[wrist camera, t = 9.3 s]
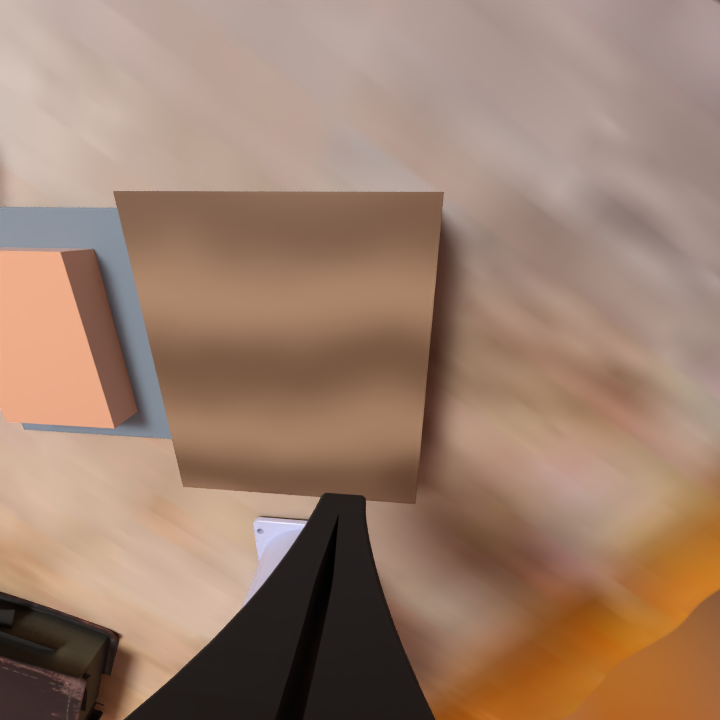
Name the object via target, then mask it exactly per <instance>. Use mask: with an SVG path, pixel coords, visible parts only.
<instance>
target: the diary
mask: <svg viewBox="0 0 720 720" xmlns="http://www.w3.org/2000/svg"><path fill="white" fill-rule="evenodd" d="M117 643H118V637H117V636H116V635H115V634H114V633H113V632H112V631H111V630H109V629H107V628H105V627H102V626H100V625H97V624H94V623H92V622H89V621H86V620H83V619H80V618H78V617H75V616H72V615H69V614H66V613H64V612H61V611H58V610H55V609H52V608H49V607H46V606H43V605H40V604H37V603H34V602H31V601H28V600H25V599H22V598H19V597H16V596H12V595H9V594H5V593H2V592H0V720H100V718H101V716H102V714H103V712H101V711H98V710H95V709H93V708H94V707H95V705H96V703H97V702H95V701H96V700H97V697H98V691H99V686H100V681H101V676H102V673H103V674H106V675H109V676H110V675H111V671H112V666H113V662H114V658H115V654H116V650H117ZM97 704H100V703H97ZM100 705H103V704H100Z"/></svg>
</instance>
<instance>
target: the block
mask: <svg viewBox="0 0 720 720" xmlns="http://www.w3.org/2000/svg"><path fill="white" fill-rule="evenodd" d="M0 408H1V411H2V413H3V415H4V417H5V420H6V422H16V423H32V424H49V425H65V426H81V427H97V428H114V429H115V428H116V427H117V426H119V425H120V424H121V423H123V422H124V421H125V420H127V419H128V418H130V417H131V416H132V415H134V414H135V413H136V412H138V410H137V406H136V402H135V399H134V395H133V391H132V387H131V384H130V380H129V376H128V373H127V369H126V365H125V362H124V358H123V354H122V351H121V347H120V343H119V340H118V336H117V332H116V328H115V325H114V321H113V317H112V314H111V310H110V306H109V303H108V299H107V295H106V292H105V288H104V284H103V281H102V277H101V273H100V269H99V266H98V262H97V258H96V255H95V251H94V249H76V248H18V247H0Z"/></svg>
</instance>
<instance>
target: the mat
mask: <svg viewBox="0 0 720 720" xmlns="http://www.w3.org/2000/svg"><path fill="white" fill-rule="evenodd" d="M0 247H18V248H76V249H94V251H95V255H96V258H97V262H98V266H99V269H100V273H101V277H102V281H103V284H104V288H105V292H106V295H107V299H108V303H109V306H110V310H111V314H112V317H113V321H114V325H115V328H116V332H117V336H118V340H119V343H120V347H121V351H122V354H123V358H124V362H125V365H126V369H127V373H128V376H129V380H130V384H131V387H132V391H133V395H134V399H135V402H136V406H137V410H138V412H136V413H135V414H134V415H132V416H131V417H130V418H128V419H127V420H125V421H124V422H123V423H121V424H120V425H119V426H117V427H116V428H115V429H114V428H97V427H81V426H65V425H49V424H32V423H22V425H23V428H24V430H40V431H55V432H71V433H87V434H103V435H119V436H135V437H151V438H167V439H172V437H171V433H170V429H169V424H168V420H167V416H166V412H165V408H164V403H163V399H162V395H161V391H160V386H159V382H158V378H157V374H156V370H155V365H154V361H153V357H152V353H151V348H150V344H149V340H148V336H147V332H146V327H145V323H144V319H143V315H142V310H141V306H140V302H139V298H138V294H137V289H136V285H135V281H134V277H133V272H132V268H131V264H130V260H129V256H128V251H127V247H126V243H125V239H124V234H123V230H122V226H121V222H120V218H119V213H118V209H117V208H53V207H0Z"/></svg>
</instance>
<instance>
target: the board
mask: <svg viewBox="0 0 720 720" xmlns="http://www.w3.org/2000/svg"><path fill="white" fill-rule="evenodd" d="M113 192H114V196H115V201H116V205H117V209H118V213H119V218H120V222H121V226H122V230H123V234H124V239H125V243H126V247H127V251H128V256H129V260H130V264H131V268H132V272H133V277H134V281H135V285H136V289H137V294H138V298H139V302H140V306H141V310H142V315H143V319H144V323H145V327H146V332H147V336H148V340H149V344H150V348H151V353H152V357H153V361H154V365H155V370H156V374H157V378H158V382H159V386H160V391H161V395H162V399H163V403H164V408H165V412H166V416H167V420H168V424H169V429H170V433H171V437H172V441H173V446H174V450H175V454H176V458H177V462H178V467H179V471H180V475H181V479H182V484H183V487H194V488H207V489H221V490H234V491H248V492H261V493H275V494H288V495H301V496H315V497H321V496H322V495H323V494H324V493H337V494H351V495H363V496H364V497H365V498H366V500H369V501H382V502H395V503H409V504H415V503H416V492H417V481H418V470H419V459H420V448H421V437H422V426H423V415H424V404H425V393H426V382H427V371H428V360H429V349H430V338H431V327H432V316H433V305H434V294H435V283H436V272H437V261H438V250H439V239H440V228H441V217H442V206H443V195H444V192H198V191H113Z"/></svg>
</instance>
